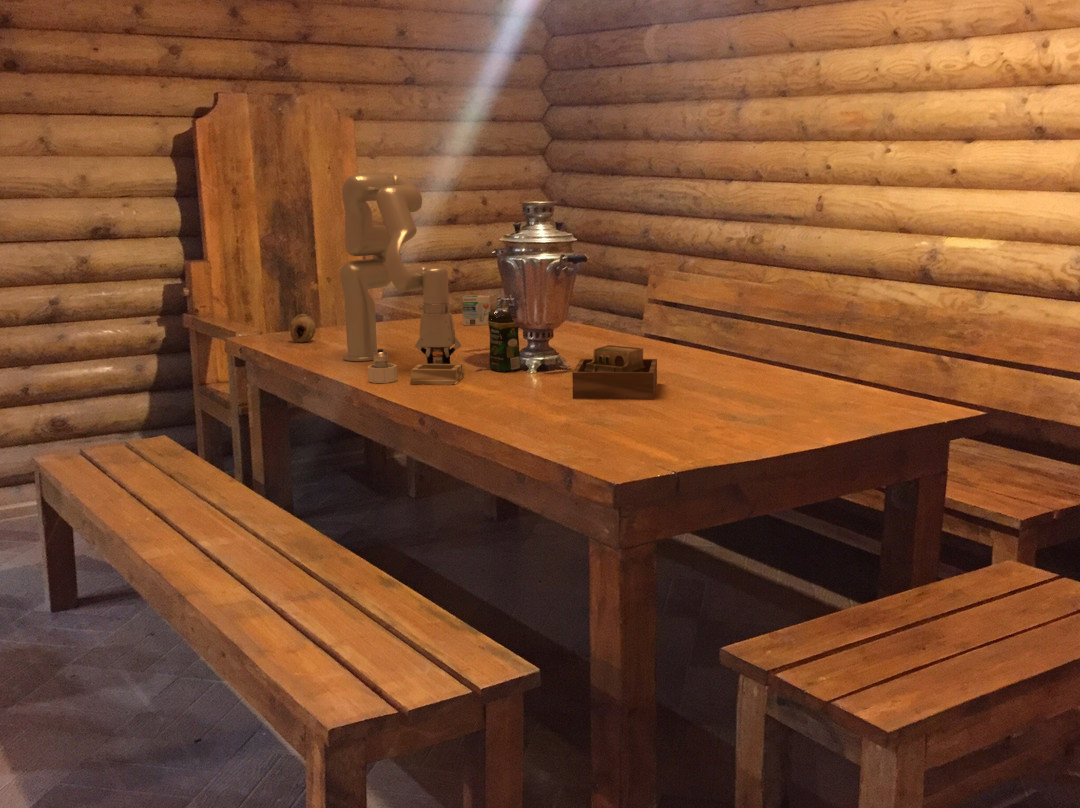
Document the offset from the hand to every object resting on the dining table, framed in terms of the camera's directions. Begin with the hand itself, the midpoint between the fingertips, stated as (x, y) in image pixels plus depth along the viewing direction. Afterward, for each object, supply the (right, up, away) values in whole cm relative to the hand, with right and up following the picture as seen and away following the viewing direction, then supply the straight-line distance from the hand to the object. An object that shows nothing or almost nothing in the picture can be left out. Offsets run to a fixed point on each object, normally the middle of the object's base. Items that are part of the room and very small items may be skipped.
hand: (439, 368), depth 346 cm
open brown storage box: (+51, -7, -30) cm, 60 cm away
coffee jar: (+20, 0, +3) cm, 20 cm away
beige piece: (-16, -4, -9) cm, 18 cm away
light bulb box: (+6, +20, +95) cm, 97 cm away
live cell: (0, -1, 0) cm, 1 cm away
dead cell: (-16, -3, -9) cm, 19 cm away
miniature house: (+50, -7, -29) cm, 58 cm away
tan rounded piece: (-53, +11, +63) cm, 83 cm away
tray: (0, -4, -11) cm, 11 cm away
